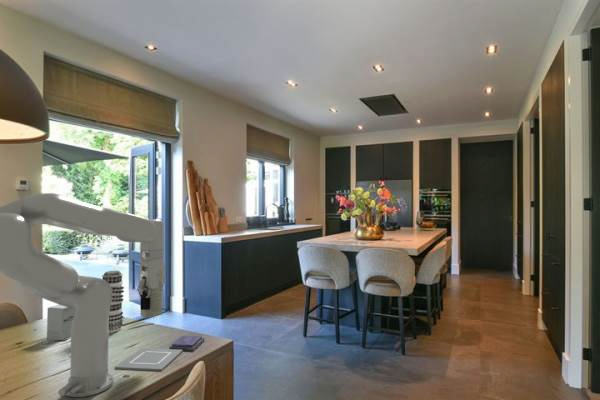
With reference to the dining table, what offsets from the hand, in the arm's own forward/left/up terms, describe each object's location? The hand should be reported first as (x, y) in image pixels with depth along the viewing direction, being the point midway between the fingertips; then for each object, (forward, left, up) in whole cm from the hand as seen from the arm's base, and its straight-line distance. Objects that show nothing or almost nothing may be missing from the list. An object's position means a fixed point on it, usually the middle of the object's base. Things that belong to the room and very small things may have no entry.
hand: (151, 306), depth 124 cm
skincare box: (0, 0, -3) cm, 3 cm away
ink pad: (+14, -7, -18) cm, 24 cm away
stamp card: (0, 0, -18) cm, 18 cm away
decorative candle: (+28, +33, -19) cm, 47 cm away
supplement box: (+18, +48, -19) cm, 55 cm away
